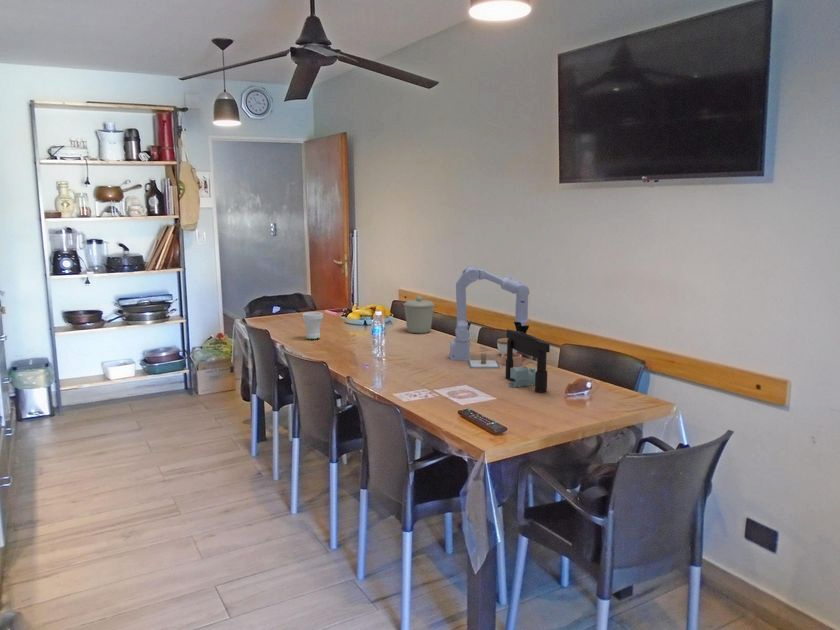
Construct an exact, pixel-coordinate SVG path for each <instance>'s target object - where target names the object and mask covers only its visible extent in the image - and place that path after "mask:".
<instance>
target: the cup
mask: <svg viewBox="0 0 840 630" xmlns="http://www.w3.org/2000/svg"><path fill="white" fill-rule="evenodd" d="M301 316H302V320H303V322H304V325H305V329H306V331H305V332H306V333H305V338H306V340H308V339H311V340H313V339H316V340H318V339H317V338H320V339H321V330H320V329H321V325H322V320H323V318H324V313H323V312H320V311H308V312H303V313H302V315H301Z"/></svg>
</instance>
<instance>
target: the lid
mask: <svg viewBox="0 0 840 630" xmlns="http://www.w3.org/2000/svg"><path fill="white" fill-rule="evenodd" d="M468 361H469V362H470V365H471V368H489V369H499V368H498V365H497V363H496V361H497V360H496V359H495V360H494V359H493V360H491V359H490V360H489V359H487V353H485V352H482V353H480V359H478V360H475V359H474V360H473V359H471V360H468Z"/></svg>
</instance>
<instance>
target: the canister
mask: <svg viewBox="0 0 840 630" xmlns="http://www.w3.org/2000/svg"><path fill="white" fill-rule="evenodd" d="M435 305H436V304H435V303H434V302H433V301H431V300H427V299H425V300H424V299H423V297H422V296H421V295H417V296H416V297H415V299H411V300H407V301H406V302H404V303H403V307H404V313H405V315H404V316H405V323H406V328H407V331H408V332H409V333H411V334H427V333H429V332H430V331H431V329H432V323H433V316H434V315H433V314H434V308H435V307H434V306H435Z"/></svg>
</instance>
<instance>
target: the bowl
mask: <svg viewBox="0 0 840 630" xmlns="http://www.w3.org/2000/svg"><path fill="white" fill-rule="evenodd" d="M500 355H501V357H500V359H501V363H500V364H501V365H502V366H505V367H506V359H507V353H505V354H500ZM522 365H523V355H522V354H520V353H513V368H514V367H522Z"/></svg>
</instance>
